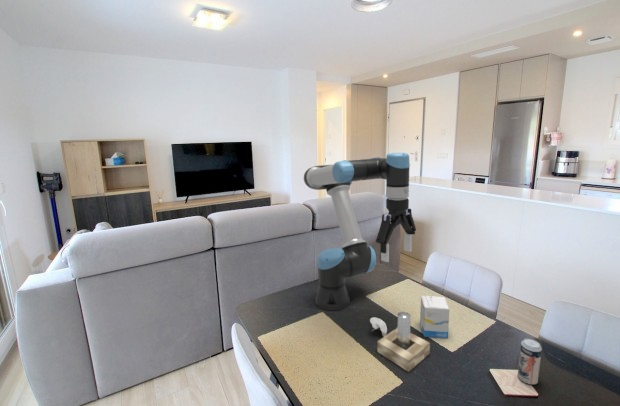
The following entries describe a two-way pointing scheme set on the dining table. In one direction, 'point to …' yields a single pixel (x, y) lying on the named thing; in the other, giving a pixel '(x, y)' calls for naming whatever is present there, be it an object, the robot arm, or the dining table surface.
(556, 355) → the dining table surface
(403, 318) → the peg
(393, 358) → the socket block
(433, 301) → the ink box
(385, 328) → the white coral lump
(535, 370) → the beer can
